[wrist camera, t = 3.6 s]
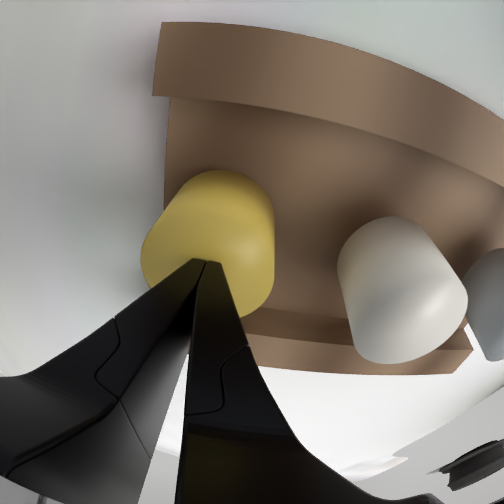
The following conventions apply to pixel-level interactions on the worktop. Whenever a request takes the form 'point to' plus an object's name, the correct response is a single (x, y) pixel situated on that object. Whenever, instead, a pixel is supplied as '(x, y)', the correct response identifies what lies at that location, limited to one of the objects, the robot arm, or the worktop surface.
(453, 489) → the casserole
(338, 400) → the worktop surface
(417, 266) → the white key
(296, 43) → the key console
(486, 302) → the grey rounded block
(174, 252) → the mustard key
